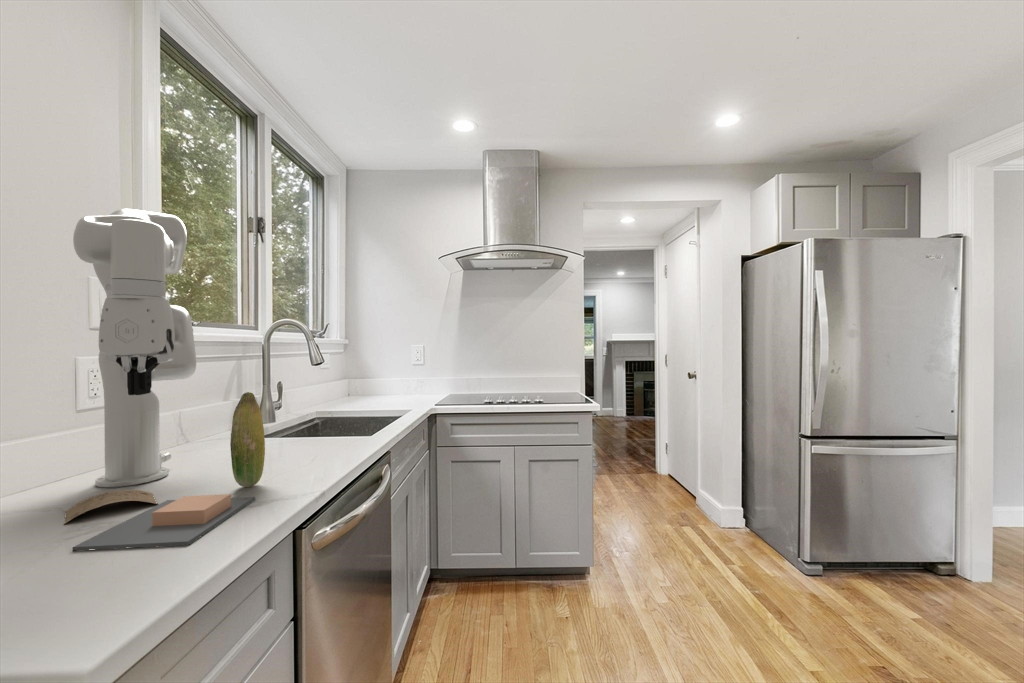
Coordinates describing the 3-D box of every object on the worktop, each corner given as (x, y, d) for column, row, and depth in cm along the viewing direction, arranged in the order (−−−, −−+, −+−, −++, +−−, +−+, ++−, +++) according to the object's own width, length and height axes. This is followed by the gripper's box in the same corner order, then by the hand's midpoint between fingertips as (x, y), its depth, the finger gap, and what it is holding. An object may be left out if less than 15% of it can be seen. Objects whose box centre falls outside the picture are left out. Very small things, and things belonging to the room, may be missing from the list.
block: (184, 496, 80) (230, 494, 81) (184, 508, 80) (231, 506, 81) (152, 512, 72) (204, 510, 73) (152, 526, 72) (204, 523, 73)
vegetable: (272, 484, 96) (271, 391, 96) (248, 493, 90) (247, 394, 90) (249, 482, 98) (248, 390, 98) (224, 491, 92) (223, 393, 92)
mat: (167, 503, 85) (167, 500, 85) (254, 499, 86) (254, 496, 86) (72, 551, 65) (72, 547, 65) (188, 545, 66) (188, 541, 66)
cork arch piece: (59, 530, 75) (59, 513, 75) (56, 515, 81) (56, 500, 82) (167, 506, 85) (167, 492, 85) (156, 495, 92) (156, 482, 92)
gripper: (75, 288, 75) (76, 397, 76) (169, 290, 77) (169, 397, 77) (111, 292, 83) (112, 391, 83) (196, 294, 84) (196, 391, 84)
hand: (139, 393), depth 80 cm, fingers closed
